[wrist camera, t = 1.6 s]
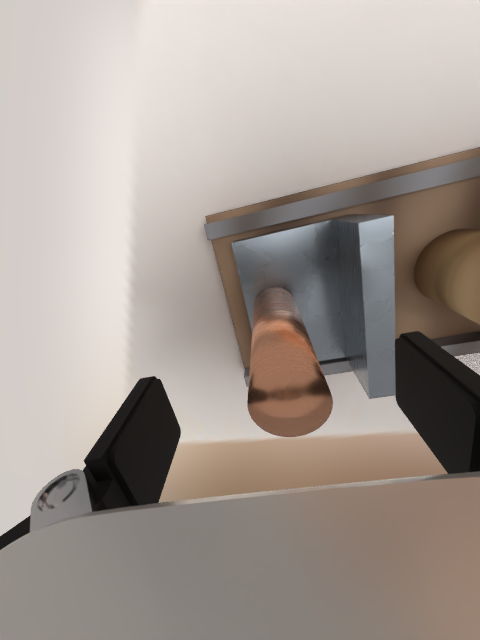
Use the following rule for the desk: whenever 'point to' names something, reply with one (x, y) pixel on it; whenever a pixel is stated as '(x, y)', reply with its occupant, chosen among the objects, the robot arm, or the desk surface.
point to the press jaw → (317, 315)
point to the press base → (409, 240)
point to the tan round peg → (452, 272)
